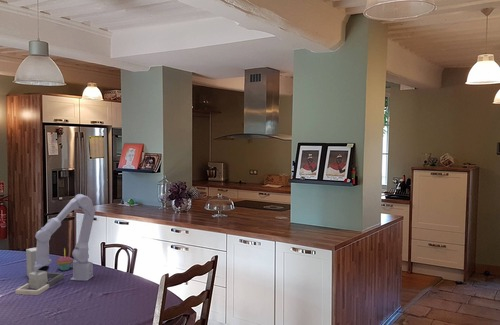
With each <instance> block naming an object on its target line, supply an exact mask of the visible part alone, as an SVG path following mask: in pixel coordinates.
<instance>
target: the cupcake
mask: <svg viewBox="0 0 500 325" xmlns="http://www.w3.org/2000/svg"><path fill="white" fill-rule="evenodd" d="M63 252H64V254H63V256H60V257H59V258H57V260H56V264H57V266H58V268H59V270H60V271H68V270H70V267H71V264H73V260H74V258H72V257H70V256H66V248H63Z"/></svg>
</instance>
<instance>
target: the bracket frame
mask: <svg viewBox="0 0 500 325" xmlns="http://www.w3.org/2000/svg"><path fill="white" fill-rule="evenodd" d="M49 289H50V287H49V284H46V285H45V286H43V287H41V288H40V289H38V290H37V289H30V288H29V283H27V282H26V284H23V285H22V286H20V287H18V288H17V289H15V290H14V292H15V293H14V295H21V294H22V296H23V295H24V296H27V295H28V296H40V295H41V294H42V293H44V292H46V291H47V290H49Z"/></svg>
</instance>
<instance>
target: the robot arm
mask: <svg viewBox="0 0 500 325" xmlns="http://www.w3.org/2000/svg"><path fill="white" fill-rule="evenodd" d="M79 209H81V210H82V212H83V213H84V214H83V218H82V222H81V227H80V231H79V236H78V240H77V243H76V244H75V247H74V249H73V250H72V251H71V253H72V254H71V255H72V257H73V262H72V277H71V278H70V279H69V280H70V281H87V282H88V281H89V280H91V279H92V278H93V277H94V265H93V262H92V261H89V257H90V255H89V254H90V253H89V250H90V249H89V241H90V237H91V232H92V228H93V222H94V219H95V218H94V217H95V214H96V208H95V207H94V204H93V200H92V199H91V198H90V197H89V196H88V195H84V194H83V193H78V194H75V195H74V198H71V200H70V201H69V202H68V203H67V204H66V205H65V206H64V208H63V209H62V210H61V211H60V212H59V213H58V214H57V216H56V217H52V218H49V219H48V220H47V222H46V223H45V225H44V226H42V227H41V228H40V230H38V231H36V233H35V235H34V236H35V239H36V262H35V263H34V264H35V266H34V267H33V270H34V271H38V270H41V271H47V272H48V271H49V268H50V264H52V259H51V258H50V240H51V239H52V238H51V236H52V235H53V234H54V233H55V232H56V231H57V230H58V229H59V228H60V227H61V226H62V221H63V220H64V219H66V218H67V216H68V215H70V214H71V213H72V212H73V211H74V210H79Z"/></svg>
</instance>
